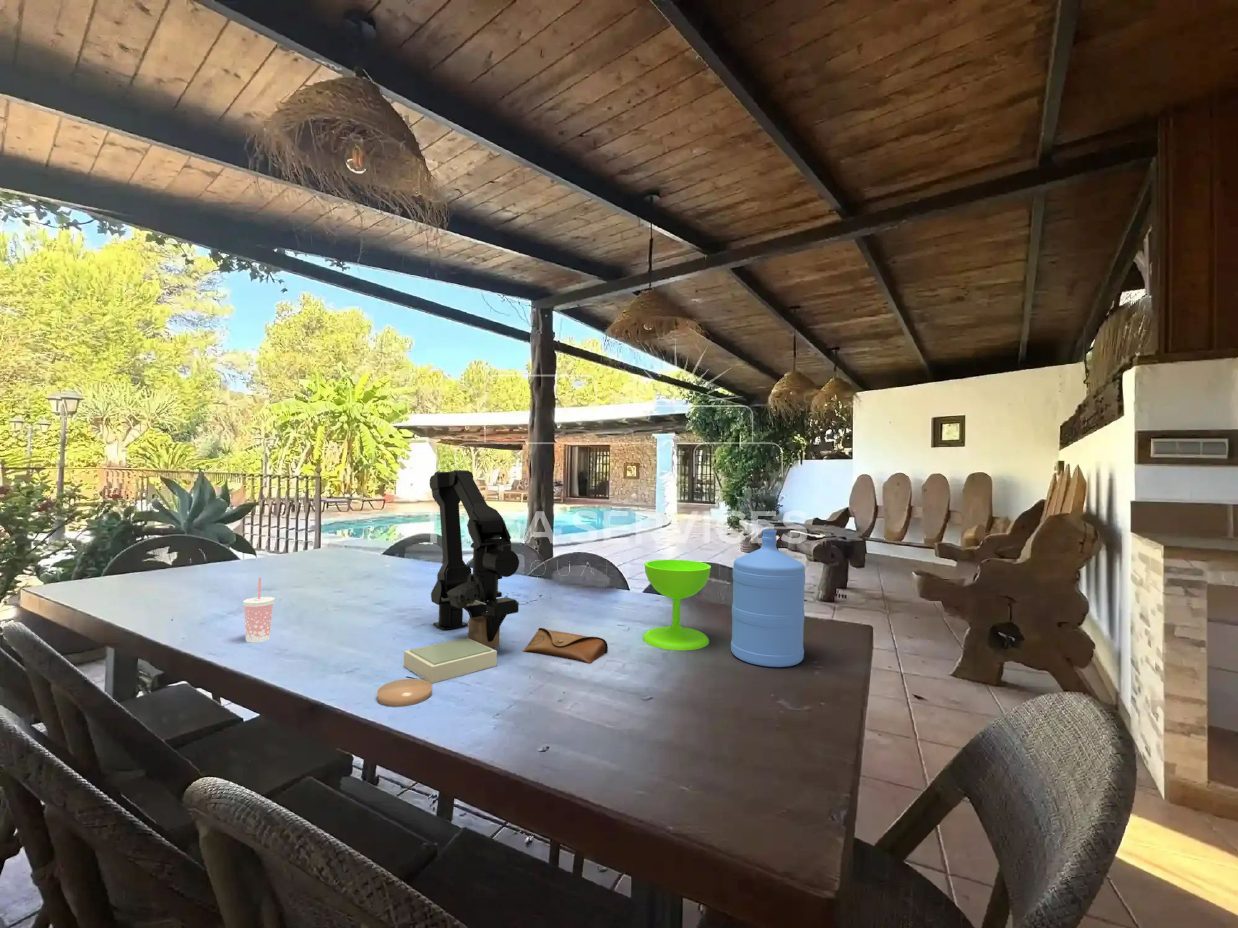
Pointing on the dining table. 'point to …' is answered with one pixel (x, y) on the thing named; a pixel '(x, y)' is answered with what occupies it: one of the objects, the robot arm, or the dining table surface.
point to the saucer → (404, 692)
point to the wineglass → (676, 601)
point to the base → (449, 659)
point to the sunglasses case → (567, 645)
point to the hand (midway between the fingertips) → (483, 638)
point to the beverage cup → (258, 617)
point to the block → (481, 632)
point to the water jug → (768, 606)
